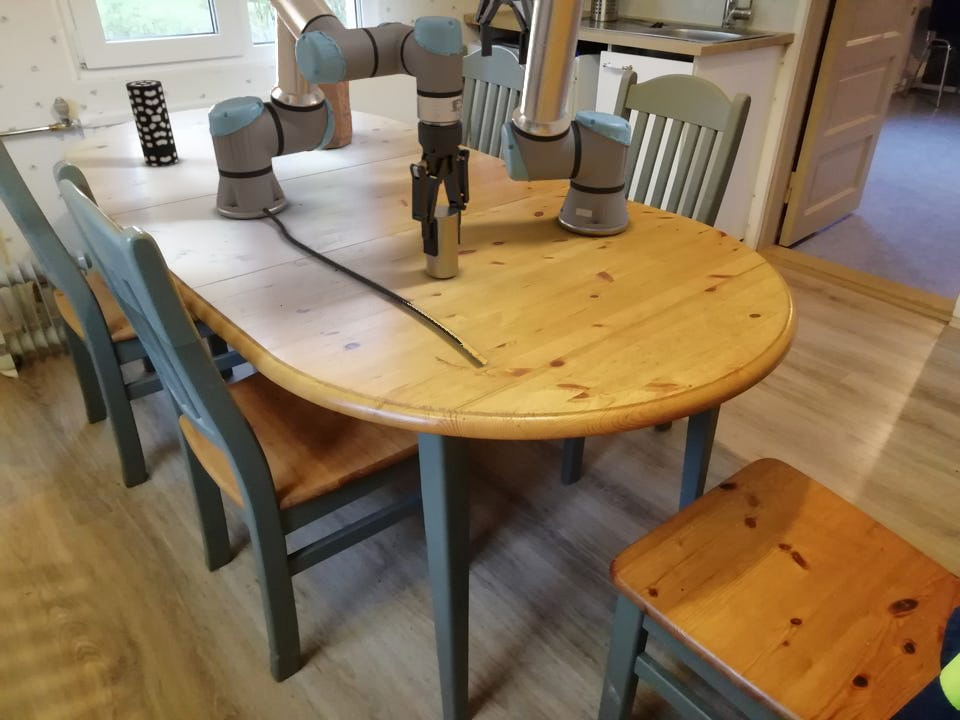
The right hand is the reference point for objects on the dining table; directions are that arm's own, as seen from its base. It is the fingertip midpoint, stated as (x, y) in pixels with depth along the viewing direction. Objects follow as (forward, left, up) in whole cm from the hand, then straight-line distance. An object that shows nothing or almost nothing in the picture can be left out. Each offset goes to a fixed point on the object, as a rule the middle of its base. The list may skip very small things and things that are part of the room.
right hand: (504, 60), depth 165 cm
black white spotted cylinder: (+66, -65, -18) cm, 94 cm away
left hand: (+47, +38, -23) cm, 64 cm away
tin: (+47, +38, -28) cm, 66 cm away
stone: (+18, -57, -28) cm, 66 cm away
